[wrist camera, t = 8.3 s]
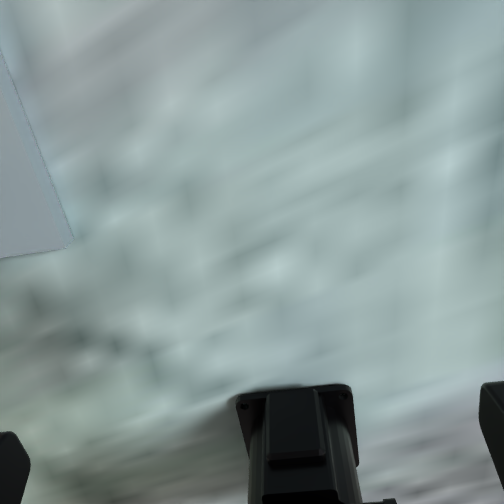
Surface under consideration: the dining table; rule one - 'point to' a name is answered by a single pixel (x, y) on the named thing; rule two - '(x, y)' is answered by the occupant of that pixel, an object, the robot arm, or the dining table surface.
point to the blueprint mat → (25, 184)
